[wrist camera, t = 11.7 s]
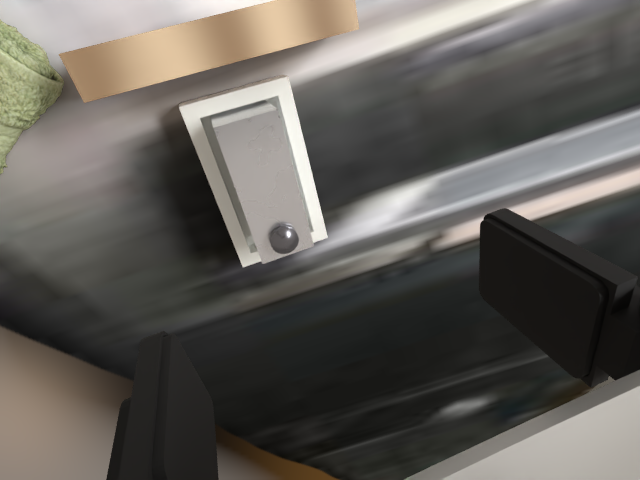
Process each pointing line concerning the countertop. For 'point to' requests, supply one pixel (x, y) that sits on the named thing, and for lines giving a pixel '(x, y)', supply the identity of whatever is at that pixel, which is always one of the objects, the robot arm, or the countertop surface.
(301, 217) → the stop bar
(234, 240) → the bracket
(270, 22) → the rail
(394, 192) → the countertop surface
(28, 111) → the washcloth
